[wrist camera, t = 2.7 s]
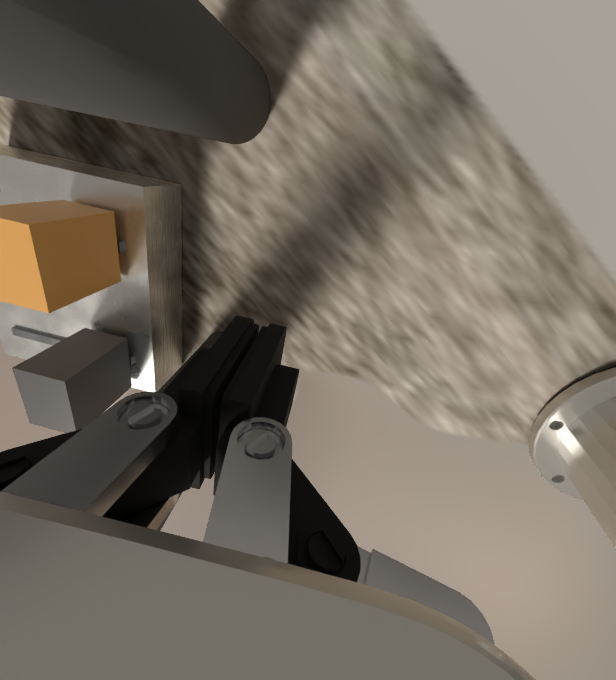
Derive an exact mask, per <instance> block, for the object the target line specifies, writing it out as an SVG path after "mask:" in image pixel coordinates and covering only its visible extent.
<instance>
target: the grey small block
mask: <svg viewBox="0 0 616 680" xmlns="http://www.w3.org/2000/svg"><path fill="white" fill-rule="evenodd" d="M12 369H13V372H14V375H15V378H16V381H17V384H18V388H19V390H20V394H21V397H22V399H23V403H24V406H25V409H26V412H27V415H28V419H29V422H30V423H32V424H35V425H39V426H43V427H46V428H50V429H54V430H57V431H61V432H64V433H69V432H72V431H76V430H79V429H83V428H84V427H86V426H87V425H88V424H90V423H91V422H92V421H93V420H95V419H96V418H97V417H99V416H100V415H101V414H102V413H103V412H104V411H105V410H106V409H107V408H109V407H110V406H111V405H112V404H113V403H114V402H115V401H116V400H117V399H118V398H120V397H121V396H122V395H123V394H124V393H125V392H126V391H127V390H128V389H129V388H130V387H132V381H131V371H130V362H129V352H128V342H127V338H123V337H119V336H115V335H111V334H107V333H103V332H99V331H96V330H92V329H88V328H84V329H82V330H80V331H78V332H76V333H74V334H73V335H71V336H69V337H67V338H65V339H64V340H62V341H60V342H58V343H56V344H55V345H53V346H51V347H49V348H47V349H45V350H44V351H42V352H40V353H38V354H36V355H35V356H33V357H31V358H29V359H27V360H26V361H24V362H22V363H20V364H18V365H17V366H15V367H13V368H12Z"/></svg>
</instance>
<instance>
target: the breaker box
mask: <svg viewBox="0 0 616 680" xmlns="http://www.w3.org/2000/svg"><path fill="white" fill-rule="evenodd" d="M53 200H66V201H71V202H75V203H79V204H84V205H88V206H92V207H97V208H101V209H105V210H110V211H114V216H115V226H116V236H117V245H118V255H119V265H120V274H121V282H119V283H116V284H114V285H112V286H110V287H107V288H105V289H103V290H101V291H98V292H96V293H94V294H92V295H89V296H87V297H85V298H83V299H80V300H78V301H76V302H74V303H71V304H69V305H67V306H65V307H62V308H60V309H58V310H56V311H53V312H51V313H45V312H41V311H37V310H33V309H29V308H25V307H21V306H17V305H14V304H10V303H6V302H2V301H0V338H1V341H2V344H3V347H4V350H5V353H6V354H7V355H11V356H15V357H19V358H23V359H26V360H27V359H29V358H31V357H33V356H35V355H36V354H38V353H40V352H42V351H44V350H45V349H47V348H49V347H51V346H53V345H55V344H56V343H58V342H60V341H62V340H64V339H65V338H67V337H69V336H71V335H73V334H74V333H76V332H78V331H80V330H82V329H84V328H88V329H92V330H96V331H99V332H103V333H107V334H111V335H115V336H119V337H123V338H127V342H128V352H129V362H130V371H131V381H132V387H133V388H137V389H141V390H145V391H148V392H157V391H158V390H159V389H160V388H161V387H162V386H163V385H164V384H165V383H166V381H167V380H168V379H169V378H170V377H171V376H172V375H173V374H174V373H175V372H176V371H177V370H178V369H179V368H180V367H181V366H182V207H181V184H177V183H173V182H168V181H164V180H159V179H155V178H150V177H146V176H141V175H137V174H132V173H128V172H124V171H119V170H115V169H110V168H106V167H101V166H97V165H92V164H88V163H83V162H79V161H74V160H70V159H66V158H61V157H57V156H52V155H48V154H43V153H39V152H34V151H30V150H25V149H21V148H16V147H12V146H7V145H0V205H8V204H19V203H30V202H42V201H53Z"/></svg>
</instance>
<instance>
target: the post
mask: <svg viewBox="0 0 616 680" xmlns="http://www.w3.org/2000/svg"><path fill="white" fill-rule="evenodd" d="M0 96H3V97H8V98H13V99H17V100H22V101H27V102H32V103H37V104H42V105H46V106H51V107H56V108H61V109H66V110H71V111H75V112H80V113H85V114H90V115H95V116H99V117H104V118H109V119H114V120H119V121H124V122H128V123H133V124H138V125H143V126H148V127H153V128H157V129H162V130H167V131H172V132H177V133H182V134H186V135H191V136H196V137H201V138H206V139H211V140H215V141H220V142H225V143H230V144H241V143H245V142H248V141H250V140H251V139H253V138H254V137H255V136H257V135H258V133H259V132H260V131H261V130H262V128H263V127H264V125H265V123H266V120H267V118H268V114H269V110H270V100H271V99H270V88H269V84H268V80H267V77H266V75H265V72H264V70H263V68H262V67H261V65H260V64H259V62H258V61H257V60H256V59H255V58H254V57H253V56H252V54H251V53H250V52H249V51H248V50H247V49H246V48H245V47H244V46H243V45H242V44H241V43H240V42H239V41H238V40H237V39H236V38H235V37H234V36H233V35H232V34H231V33H230V32H229V31H228V30H227V29H226V28H225V27H224V26H223V25H222V24H221V23H220V22H219V21H218V20H217V19H216V18H215V17H214V16H213V15H212V14H211V13H210V12H209V11H208V10H207V9H206V8H205V7H204V6H203V5H202V4H201V3H200V2H199V1H198V0H0Z"/></svg>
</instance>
